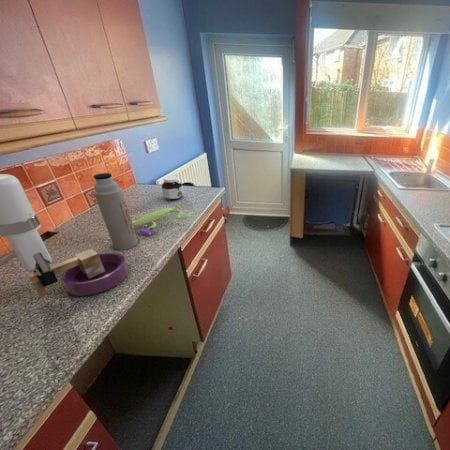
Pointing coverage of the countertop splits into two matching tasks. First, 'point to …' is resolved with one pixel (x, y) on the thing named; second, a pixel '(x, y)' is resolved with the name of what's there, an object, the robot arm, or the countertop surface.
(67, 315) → the countertop surface
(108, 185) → the thermos bottle
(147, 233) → the figurine
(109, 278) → the bowl
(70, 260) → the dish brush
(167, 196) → the spread jar
